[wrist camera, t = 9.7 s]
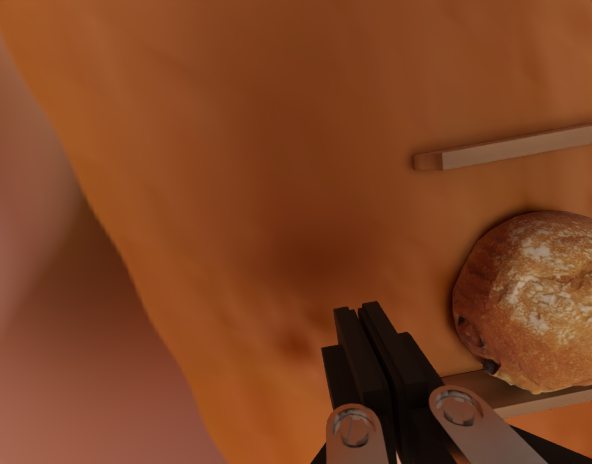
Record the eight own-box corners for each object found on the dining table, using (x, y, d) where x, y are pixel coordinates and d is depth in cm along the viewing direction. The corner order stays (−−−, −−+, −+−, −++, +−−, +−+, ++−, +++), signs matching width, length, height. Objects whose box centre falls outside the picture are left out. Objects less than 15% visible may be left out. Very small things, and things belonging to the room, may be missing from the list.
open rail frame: (413, 155, 17) (441, 152, 14) (649, 112, 17) (726, 101, 14) (432, 389, 20) (458, 427, 17) (628, 350, 21) (686, 381, 18)
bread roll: (555, 273, 23) (727, 270, 16) (518, 404, 20) (709, 478, 13) (463, 199, 21) (607, 156, 14) (408, 331, 18) (553, 367, 11)
